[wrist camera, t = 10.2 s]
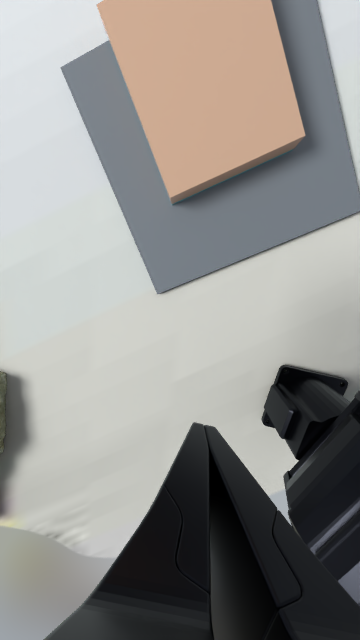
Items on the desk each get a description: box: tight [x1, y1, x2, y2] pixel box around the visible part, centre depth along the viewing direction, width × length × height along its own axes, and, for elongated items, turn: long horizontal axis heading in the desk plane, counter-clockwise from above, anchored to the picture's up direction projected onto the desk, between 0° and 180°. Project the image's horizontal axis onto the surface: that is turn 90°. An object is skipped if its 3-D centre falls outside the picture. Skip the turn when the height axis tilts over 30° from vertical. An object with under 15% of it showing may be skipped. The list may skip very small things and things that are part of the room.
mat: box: [61, 0, 360, 294], centre depth 17 cm, size 18×18×1 cm
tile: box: [97, 0, 305, 205], centre depth 16 cm, size 2×10×12 cm
